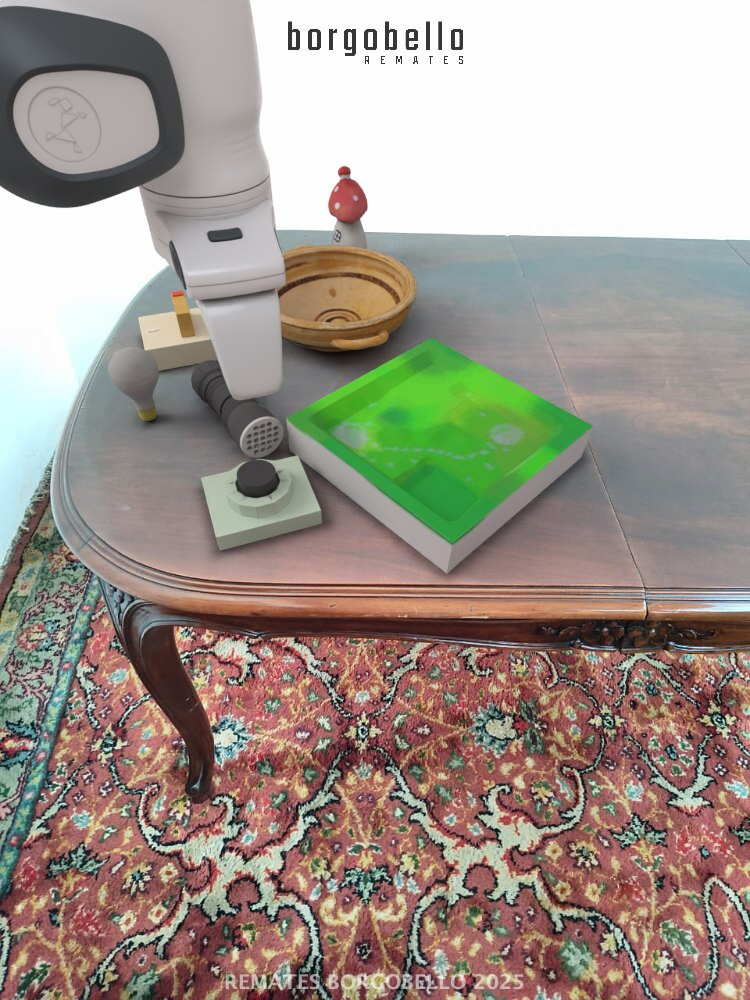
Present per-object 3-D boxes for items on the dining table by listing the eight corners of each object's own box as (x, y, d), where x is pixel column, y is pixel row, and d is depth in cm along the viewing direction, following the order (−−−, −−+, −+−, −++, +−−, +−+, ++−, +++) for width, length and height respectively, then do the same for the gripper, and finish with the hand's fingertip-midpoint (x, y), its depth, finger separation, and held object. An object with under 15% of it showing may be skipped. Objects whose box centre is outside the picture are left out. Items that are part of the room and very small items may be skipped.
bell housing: (219, 551, 61) (212, 526, 58) (204, 491, 66) (197, 465, 63) (322, 523, 63) (320, 498, 60) (299, 468, 69) (296, 443, 66)
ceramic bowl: (449, 369, 83) (456, 318, 78) (283, 406, 77) (277, 353, 71) (371, 275, 102) (372, 228, 96) (232, 298, 95) (224, 249, 89)
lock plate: (151, 372, 81) (144, 349, 78) (144, 338, 87) (137, 315, 84) (238, 356, 84) (234, 333, 82) (225, 324, 90) (221, 302, 87)
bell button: (243, 502, 60) (240, 490, 59) (235, 476, 63) (232, 464, 62) (281, 492, 61) (279, 481, 60) (272, 467, 64) (270, 455, 63)
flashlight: (191, 398, 78) (182, 363, 74) (228, 384, 80) (222, 349, 76) (245, 464, 69) (238, 429, 65) (285, 447, 71) (281, 412, 67)
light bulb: (159, 436, 72) (137, 368, 65) (118, 429, 73) (92, 360, 66) (179, 409, 76) (160, 341, 68) (140, 402, 77) (117, 334, 69)
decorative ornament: (335, 251, 108) (333, 161, 97) (370, 254, 107) (372, 164, 96) (324, 275, 101) (321, 181, 90) (362, 278, 101) (363, 185, 90)
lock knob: (195, 335, 81) (189, 310, 78) (181, 337, 81) (175, 312, 78) (188, 313, 85) (183, 289, 82) (176, 315, 85) (170, 291, 82)
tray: (428, 368, 83) (431, 337, 80) (581, 457, 72) (593, 426, 68) (289, 450, 71) (286, 418, 67) (446, 573, 59) (452, 542, 56)
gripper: (149, 172, 48) (185, 325, 58) (188, 290, 35) (226, 460, 45) (227, 164, 49) (249, 314, 60) (292, 274, 37) (305, 442, 47)
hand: (239, 378), depth 52 cm, fingers closed
